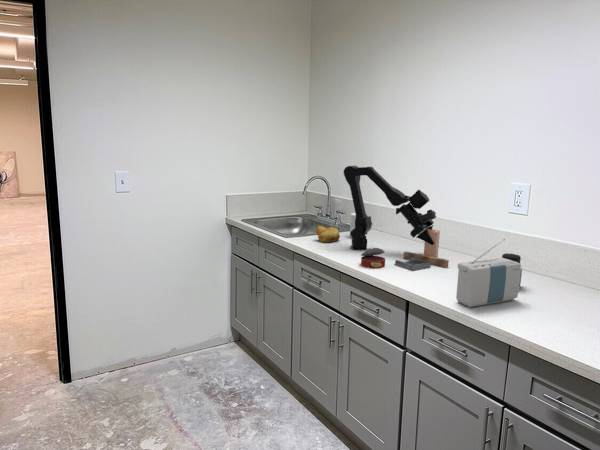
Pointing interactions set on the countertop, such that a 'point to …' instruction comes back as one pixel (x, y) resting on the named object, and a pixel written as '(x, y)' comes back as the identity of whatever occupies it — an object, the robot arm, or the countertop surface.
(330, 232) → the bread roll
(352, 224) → the supplement box
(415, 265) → the keeper bracket
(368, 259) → the canned food
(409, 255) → the door edge strip
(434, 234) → the salmon pink cylinder
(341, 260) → the countertop surface
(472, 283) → the stereo radio cassette player
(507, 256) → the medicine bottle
